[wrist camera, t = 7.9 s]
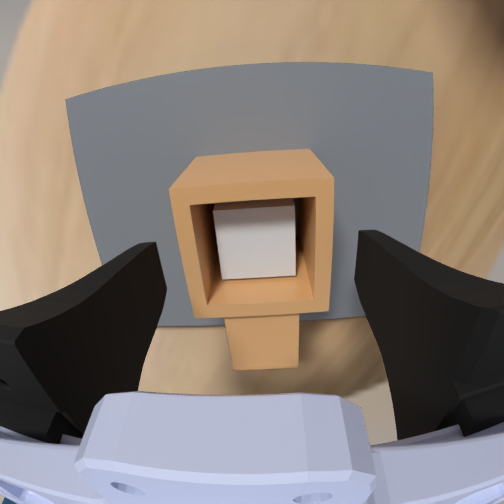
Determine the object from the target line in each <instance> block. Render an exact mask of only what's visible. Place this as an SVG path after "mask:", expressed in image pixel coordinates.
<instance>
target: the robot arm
mask: <svg viewBox="0 0 504 504" xmlns="http://www.w3.org/2000/svg"><path fill="white" fill-rule="evenodd" d="M354 281H355V285H356V289H357V293H358V296H359V300H360V303H361V305H362V308H363V310H364V312H365V315H366V317H367V320H368V322H369V324H370V327H371V329H372V331H373V334H374V336H375V339H376V341H377V344H378V346H379V349H380V352H381V355H382V358H383V362H384V365H385V370H386V374H387V378H388V382H389V387H390V392H391V397H392V402H393V408H394V415H395V421H396V429H397V439H398V440H397V441H393V442H388V443H383V444H377V445H370V444H369V439H368V435H367V430H366V426H365V422H364V417H363V413H362V409H361V407H359V406H357V405H355V404H353V403H351V402H349V401H347V400H346V399H344V398H342V397H340V396H337V395H334V394H319V393H305V392H294V393H277V394H251V395H199V394H173V393H156V392H143V391H138V386H139V382H140V377H141V372H142V368H143V364H144V361H145V357H146V355H147V352H148V349H149V346H150V344H151V341H152V338H153V336H154V333H155V330H156V328H157V325H158V322H159V320H160V317H161V314H162V311H163V307H164V303H165V298H166V293H167V286H166V282H165V278H164V274H163V269H162V265H161V261H160V257H159V252H158V248H157V243H156V242H144V243H139V244H137V245H135V246H133V247H131V248H129V249H128V250H126V251H124V252H123V253H121V254H120V255H118V256H116V257H115V258H113V259H112V260H110V261H109V262H107V263H106V264H104V265H102V266H101V267H99V268H98V269H96V270H94V271H93V272H91V273H89V274H88V275H86V276H85V277H83V278H81V279H79V280H78V281H76V282H74V283H72V284H70V285H68V286H66V287H64V288H62V289H60V290H58V291H56V292H54V293H51V294H49V295H47V296H44V297H42V298H39V299H37V300H35V301H32V302H29V303H26V304H23V305H20V306H17V307H14V308H10V309H7V310H3V311H0V494H1V495H3V496H4V497H6V498H8V499H10V500H12V501H13V502H15V503H17V504H498V503H500V502H502V501H503V500H504V284H503V283H498V282H494V281H490V280H486V279H483V278H480V277H476V276H473V275H470V274H467V273H464V272H461V271H459V270H456V269H454V268H451V267H449V266H446V265H444V264H442V263H439V262H437V261H435V260H433V259H431V258H429V257H427V256H425V255H423V254H421V253H419V252H417V251H416V250H414V249H412V248H410V247H408V246H406V245H405V244H403V243H401V242H399V241H397V240H396V239H394V238H392V237H390V236H388V235H386V234H384V233H382V232H380V231H378V230H359V232H358V244H357V255H356V266H355V275H354Z"/></svg>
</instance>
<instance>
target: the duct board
mask: <svg viewBox="0 0 504 504" xmlns="http://www.w3.org/2000/svg"><path fill="white" fill-rule="evenodd" d="M66 107H67V114H68V121H69V128H70V134H71V140H72V145H73V151H74V156H75V161H76V166H77V171H78V176H79V180H80V185H81V189H82V194H83V198H84V202H85V206H86V210H87V214H88V218H89V221H90V225H91V229H92V232H93V236H94V239H95V243H96V246H97V250H98V253H99V256H100V260H101V263H102V265H104V264H106V263H107V262H109V261H110V260H112V259H113V258H115V257H116V256H118V255H120V254H121V253H123V252H124V251H126V250H128V249H129V248H131V247H133V246H135V245H137V244H139V243H144V242H156V243H157V248H158V252H159V257H160V261H161V265H162V269H163V274H164V278H165V282H166V286H167V293H166V298H165V303H164V307H163V311H162V314H161V317H160V320H159V322H158V325H157V326H207V325H225V319H224V317H219V318H194V314H193V309H192V305H191V301H190V296H189V292H188V287H187V283H186V278H185V273H184V268H183V264H182V259H181V254H180V249H179V244H178V238H177V233H176V228H175V223H174V217H173V212H172V206H171V200H170V194H169V188H170V187H171V186H172V185H173V183H174V182H175V181H176V180H177V179H178V177H179V176H180V175H181V174H182V173H183V172H184V170H185V169H186V168H187V167H188V166H189V165H190V163H191V162H192V161H193V160H194V159H195V158H196V157H200V156H210V155H221V154H232V153H244V152H258V151H275V150H296V149H310V150H311V151H312V152H313V153H314V154H315V156H316V157H317V158H318V159H319V160H320V161H321V163H322V164H323V165H324V166H325V167H326V169H327V170H328V171H329V172H330V173H331V175H332V176H333V177H334V221H333V248H332V268H331V285H330V300H329V311H323V312H311V313H299V321H311V320H324V319H335V318H347V317H357V316H366V315H365V312H364V310H363V308H362V305H361V303H360V300H359V296H358V293H357V289H356V285H355V281H354V275H355V266H356V255H357V244H358V232H359V230H378V231H380V232H382V233H384V234H386V235H388V236H390V237H392V238H394V239H396V240H397V241H399V242H401V243H403V244H405V245H406V246H408V247H410V248H412V249H414V250H416V251H417V252H419V251H420V246H421V240H422V234H423V228H424V221H425V214H426V206H427V198H428V189H429V180H430V169H431V156H432V139H433V73H431V72H425V71H419V70H412V69H404V68H396V67H388V66H378V65H366V64H351V63H329V62H283V63H260V64H245V65H233V66H223V67H214V68H205V69H198V70H191V71H184V72H178V73H172V74H166V75H161V76H155V77H150V78H145V79H140V80H136V81H131V82H127V83H123V84H118V85H114V86H110V87H107V88H103V89H99V90H95V91H92V92H88V93H85V94H81V95H78V96H75V97H72V98H69V99H66ZM213 215H214V223H215V231H216V238H217V246H218V253H219V260H220V267H221V274H222V279H242V278H261V277H278V276H295V275H296V252H295V240H299V201H298V198H280V199H263V200H248V201H234V202H221V203H215V206H214V209H213Z"/></svg>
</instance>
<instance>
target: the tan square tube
mask: <svg viewBox="0 0 504 504" xmlns="http://www.w3.org/2000/svg"><path fill="white" fill-rule="evenodd" d="M169 194H170V200H171V206H172V212H173V217H174V223H175V228H176V233H177V238H178V244H179V249H180V254H181V259H182V264H183V268H184V273H185V278H186V283H187V287H188V292H189V296H190V301H191V305H192V309H193V314H194V318H219V317H224V319H225V325H226V331H227V337H228V343H229V348H230V354H231V360H232V365H233V370H256V369H277V368H292V367H298V354H299V313H311V312H323V311H329V300H330V285H331V268H332V248H333V221H334V177H333V176H332V175H331V173H330V172H329V171H328V170H327V169H326V167H325V166H324V165H323V164H322V163H321V161H320V160H319V159H318V158H317V157H316V156H315V154H314V153H313V152H312V151H311V150H310V149H296V150H275V151H258V152H244V153H232V154H221V155H210V156H200V157H196V158H195V159H194V160H193V161H192V162H191V163H190V165H189V166H188V167H187V168H186V169H185V170H184V172H183V173H182V174H181V175H180V176H179V177H178V179H177V180H176V181H175V182H174V183H173V185H172V186H171V187H170V188H169ZM280 198H298V201H299V240H295V252H296V275H295V276H278V277H261V278H242V279H222V274H221V267H220V260H219V253H218V246H217V238H216V231H215V223H214V215H213V209H214V206H215V203H221V202H234V201H248V200H263V199H280Z"/></svg>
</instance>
